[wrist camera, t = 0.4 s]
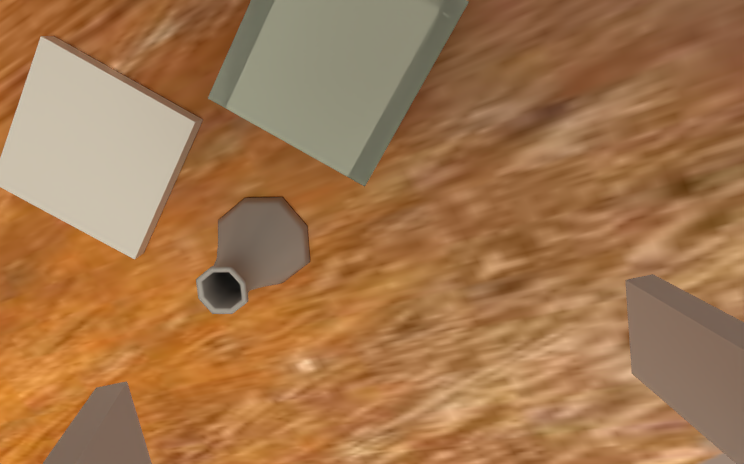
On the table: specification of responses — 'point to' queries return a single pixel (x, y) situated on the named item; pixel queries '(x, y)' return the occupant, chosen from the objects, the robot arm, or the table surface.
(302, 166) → the table surface
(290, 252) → the flask
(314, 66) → the dispenser box
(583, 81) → the table surface
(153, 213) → the plate
